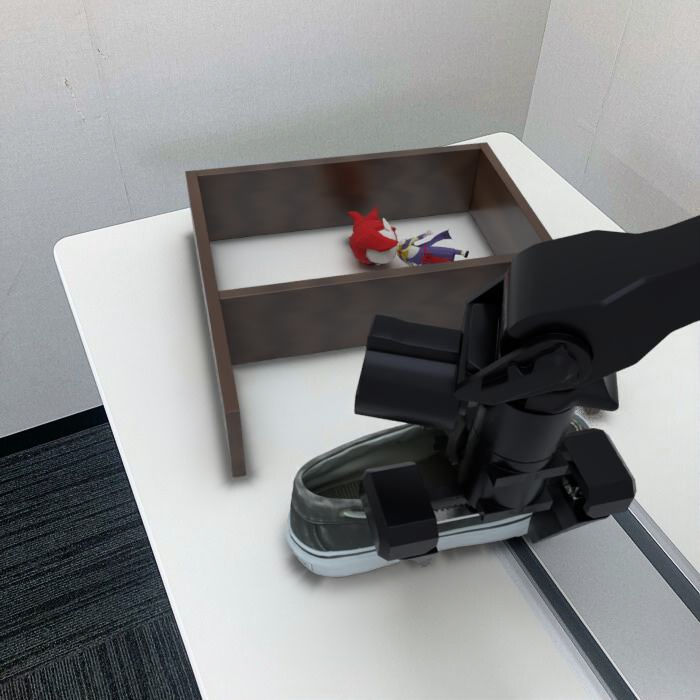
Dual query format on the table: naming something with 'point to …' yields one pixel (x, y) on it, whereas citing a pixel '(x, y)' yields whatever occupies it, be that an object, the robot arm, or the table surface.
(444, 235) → the figurine
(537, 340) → the robot arm
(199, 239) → the shoe rack
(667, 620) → the table surface
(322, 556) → the boat shoe
